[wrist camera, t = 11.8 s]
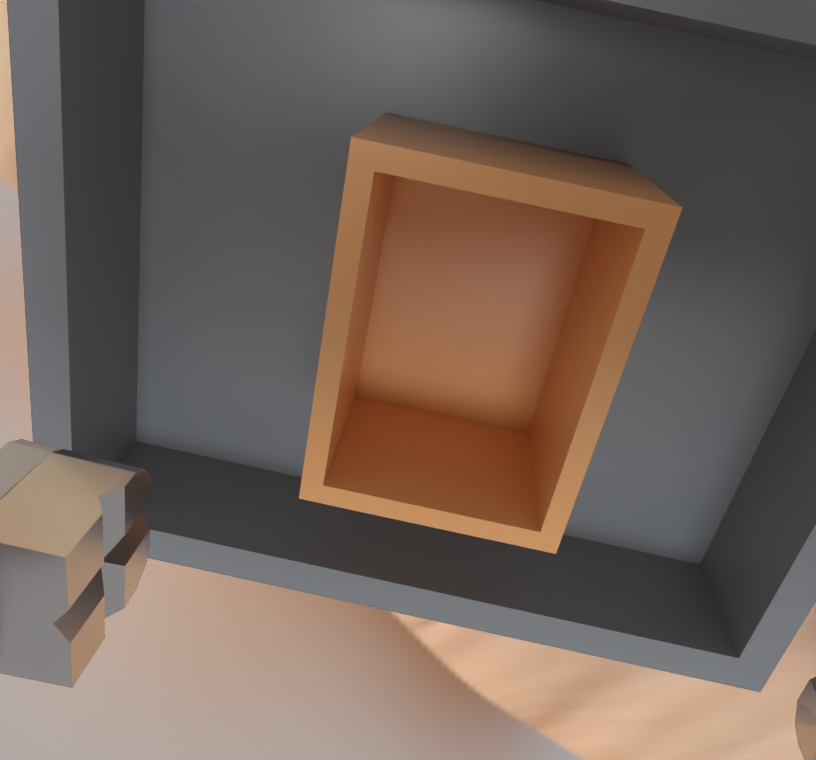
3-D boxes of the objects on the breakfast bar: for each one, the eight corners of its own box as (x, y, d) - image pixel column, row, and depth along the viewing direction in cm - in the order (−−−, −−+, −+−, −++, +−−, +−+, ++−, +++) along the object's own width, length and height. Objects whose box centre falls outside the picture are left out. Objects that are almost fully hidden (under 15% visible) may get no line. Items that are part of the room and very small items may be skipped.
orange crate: (629, 164, 17) (682, 207, 12) (539, 441, 20) (556, 553, 16) (386, 112, 17) (351, 137, 12) (339, 398, 20) (298, 498, 16)
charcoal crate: (982, 47, 16) (1154, 47, 12) (711, 577, 23) (760, 692, 19) (119, -139, 16) (-6, -203, 12) (117, 447, 23) (38, 534, 19)
